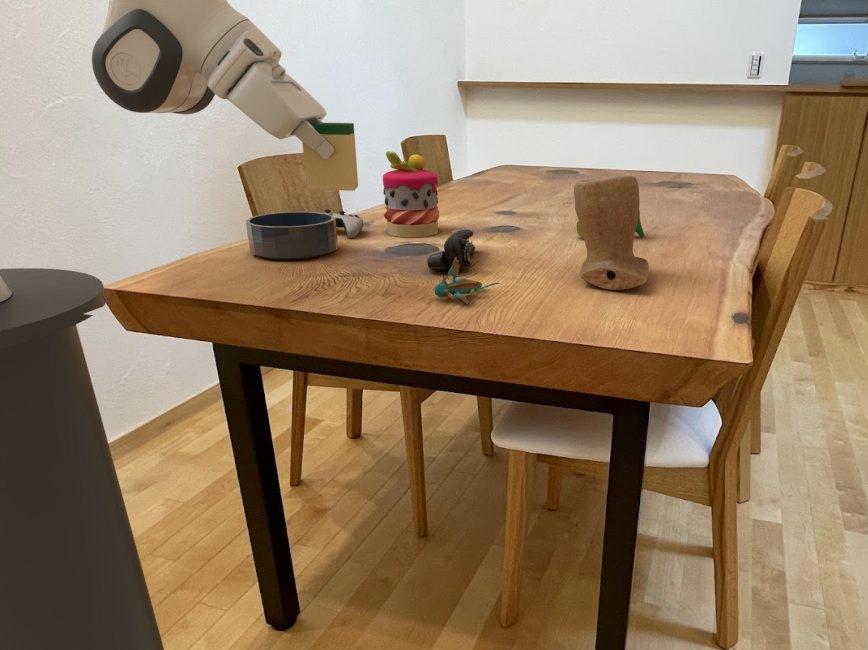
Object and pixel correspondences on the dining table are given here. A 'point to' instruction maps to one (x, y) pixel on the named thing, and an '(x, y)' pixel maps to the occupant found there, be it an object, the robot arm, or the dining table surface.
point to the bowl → (292, 235)
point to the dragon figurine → (457, 285)
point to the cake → (410, 198)
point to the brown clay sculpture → (610, 232)
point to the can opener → (453, 252)
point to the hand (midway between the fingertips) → (335, 153)
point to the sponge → (332, 159)
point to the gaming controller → (348, 223)
